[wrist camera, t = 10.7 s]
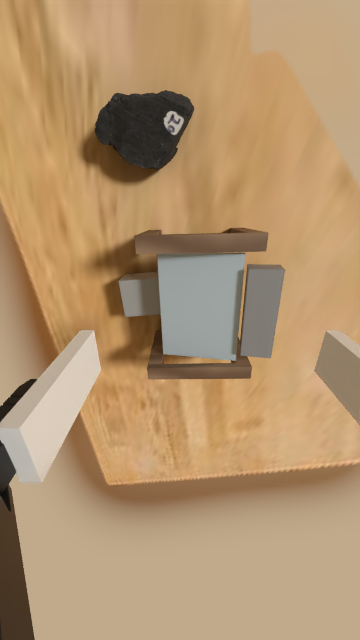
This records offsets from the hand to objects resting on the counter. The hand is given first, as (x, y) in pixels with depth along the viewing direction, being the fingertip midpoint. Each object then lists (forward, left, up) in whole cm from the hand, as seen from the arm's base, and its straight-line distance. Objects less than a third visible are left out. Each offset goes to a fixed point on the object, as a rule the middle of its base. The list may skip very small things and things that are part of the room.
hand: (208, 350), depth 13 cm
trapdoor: (+5, +3, -20) cm, 21 cm away
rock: (-17, -6, -29) cm, 34 cm away
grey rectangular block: (+4, -3, -26) cm, 26 cm away
